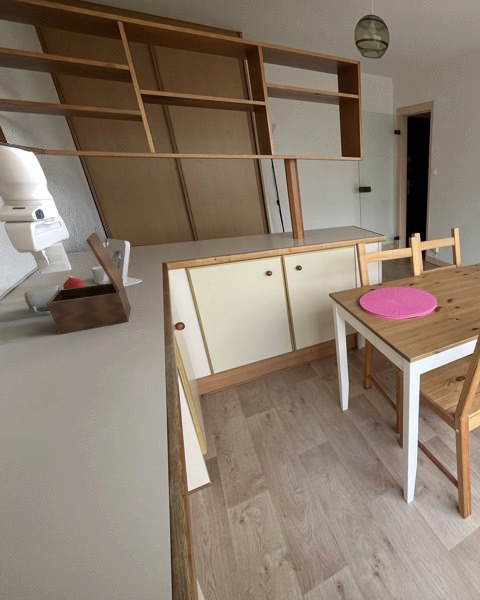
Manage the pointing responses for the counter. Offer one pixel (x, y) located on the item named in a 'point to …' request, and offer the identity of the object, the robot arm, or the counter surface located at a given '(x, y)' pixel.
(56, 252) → the white slanted block
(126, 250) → the phone holder
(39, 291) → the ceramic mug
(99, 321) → the storage box
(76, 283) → the onion
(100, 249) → the lid
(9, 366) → the counter surface
